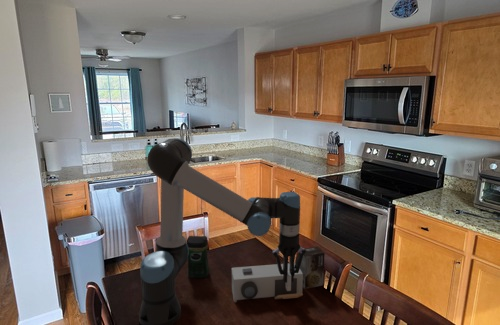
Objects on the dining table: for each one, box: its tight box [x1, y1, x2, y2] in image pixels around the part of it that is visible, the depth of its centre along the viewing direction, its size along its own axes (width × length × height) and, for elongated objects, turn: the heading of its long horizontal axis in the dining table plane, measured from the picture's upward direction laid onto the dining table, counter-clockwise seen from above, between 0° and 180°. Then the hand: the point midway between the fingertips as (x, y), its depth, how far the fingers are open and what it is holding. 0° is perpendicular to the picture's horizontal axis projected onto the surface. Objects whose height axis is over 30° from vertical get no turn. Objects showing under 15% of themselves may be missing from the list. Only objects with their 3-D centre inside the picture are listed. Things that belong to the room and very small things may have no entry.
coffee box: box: [300, 245, 325, 290], centre depth 142 cm, size 9×6×16 cm
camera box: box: [231, 262, 303, 303], centre depth 136 cm, size 28×11×11 cm, turn 99°
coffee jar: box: [186, 235, 210, 279], centre depth 150 cm, size 10×8×19 cm
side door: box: [274, 292, 304, 300], centre depth 130 cm, size 10×1×8 cm
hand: (288, 288), depth 130 cm, fingers closed
